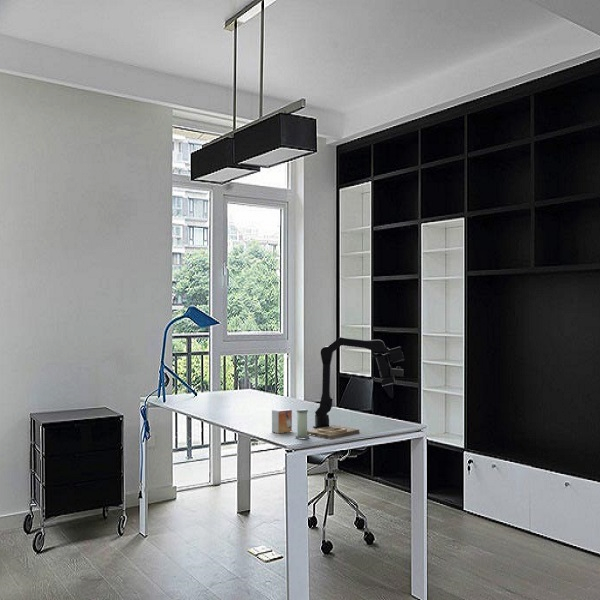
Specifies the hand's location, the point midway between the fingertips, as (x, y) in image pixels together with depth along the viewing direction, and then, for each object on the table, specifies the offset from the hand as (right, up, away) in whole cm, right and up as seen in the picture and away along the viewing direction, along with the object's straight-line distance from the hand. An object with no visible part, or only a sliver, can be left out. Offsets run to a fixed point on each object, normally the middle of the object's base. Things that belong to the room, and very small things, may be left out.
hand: (392, 396), depth 325 cm
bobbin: (-43, -16, -20) cm, 50 cm away
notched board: (-29, -16, -10) cm, 35 cm away
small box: (-53, -16, -6) cm, 56 cm away
